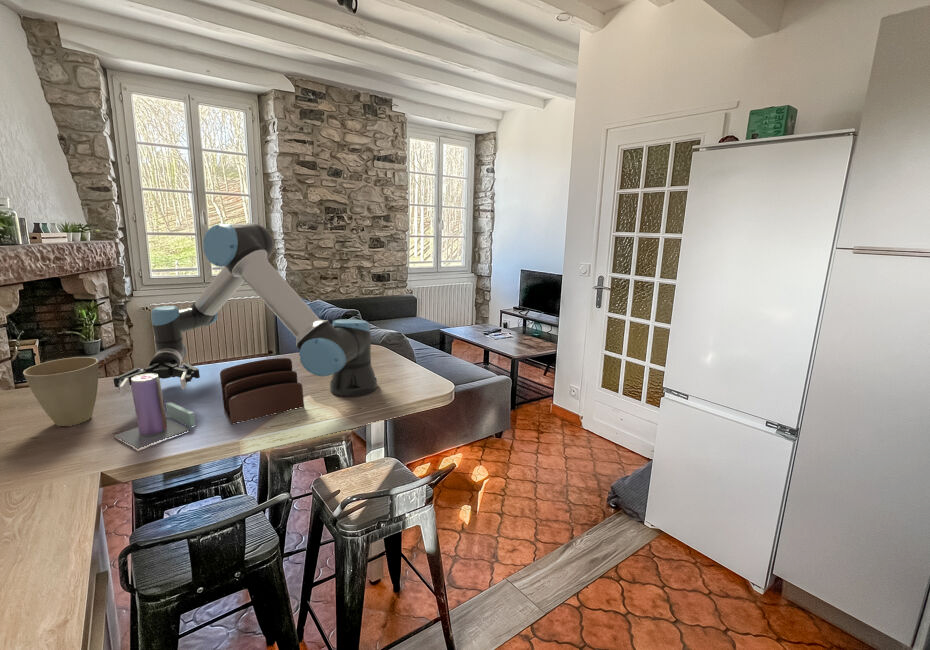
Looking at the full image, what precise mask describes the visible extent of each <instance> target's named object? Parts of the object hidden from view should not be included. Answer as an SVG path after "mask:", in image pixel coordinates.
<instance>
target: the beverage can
mask: <svg viewBox="0 0 930 650" xmlns="http://www.w3.org/2000/svg"><path fill="white" fill-rule="evenodd" d="M160 379H161V378H159V377H158V374H155V373H146V374H141V375H137V376H134V377H133V378H131V385H130V388H131V393H132V398H133V399H132V400H133V405H134V409H135V410H134V411H135V416H136V417H135V418H136V421H137V427H138V429H139V433H140V434H141V435H142V436H155V435H158V434H161V433H163V432H164V431H165V430H166V428H167V423H166V418H167V416H166V410H165V404H164V397H163V392H162V391H163V390H162V384H161V380H160Z"/></svg>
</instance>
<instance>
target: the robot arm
mask: <svg viewBox="0 0 930 650" xmlns="http://www.w3.org/2000/svg"><path fill="white" fill-rule="evenodd" d="M202 244H203V245H202V249H203V252H204V256H205V257H206V259H207V260H208V262H209V263H210V264H211V265H214V266H215V267H219V268H222V269H221V270H220V271H219V272H218V273H217V275H216V276H215V277H214V279H212V281H211V282H210V283H209V285H207V287H206V288H205V289H204V290H203V291H202V293H201V294H200V295H199V296H198V298H197V299H196V300H195V301H194V302H193V303H192V304H191V306H189V307H185V308H180V309H179V308H178V307H177V306H175V305H163V306H157V307H154V308H153V309H152V310H151V311H150V314H151V315H150V318H151V324H152V330H153V334H154V336H153V337H154V345H155V350H156V353H155V354H154V355H153V357H152V359H151V360H150V362H149V365H148V366H147V367H145V368H141V367H140V366H136V367H135V366H134V367H133V369H132V370H131V369H130V370H129V371H127V372H124V373H123V374H119V375H117V376H115V377H113V378H112V379H113V384H114V387H115V388H118V390H119V393H120V397H125V395H126V394H127V393H128V391H129V390H130V388H131V378H133V377H134V376H137V375H141V374H146V373H155V374H158V377H159V378H160V379H165V380H166V379H170V378H175V377H176V378H179V380H180V386H181V387H180V389H182V390H184V389H186V386H187V384H188V383H190V382H192V380H193V379H199V378H200V377H201V376H200V369H199V368H198V367H195V366H193V365H191V364H190V362H189V361H185V362H184V363H182V362H183V360H184V359H185V356H186V353H187V349H186V346H185V345H184V341H183V333H185V332H189V331H192V330H195V329H199V328H202V327H207V326H209V325H211V324H214V323H215V322H216V321H217V320H218V316H219V311H220V310H221V309H222V307H223V306H224V305H225V304H226V303H227V302H228V301H229V300H230V298H231V297H232V296H234V294H235V293H236V291H237V290H239V288H240V287H241V286H242V285H243V284H244V283H245V282H246V284H248V286H249V287H250V288H251V289H252V291H254V293H256V296H258V297H259V298H260V299H261V301H262V302H264V303H265V304H266V306H267V307H268V308H269V309H270V310H271V311H272V313H273V314H274V315H275V316H276V317H277V318H278V320H280V322H281V323H282V324H283V325H284V326H285V327H286V329H287V330H289V332H291V334H292V335H293V337H295V338H296V342H295V346H296V348H298V350H299V352H298V353H299V357H300V359H299V360H300V363H301V365H302V366H303V368H304V369H305V370H306V371H307V372H309V373H310V374H311V375H313V376H317V377H329V376H332V378H331V380H330V383H329V388H330V389H329V390H330V393H332V394H333V395H336V396H341V397H358V396H364V395H368V394H370V393H373V392H374V391H376V389H377V388H378V379H377V376H376V375H375V372H374V371H375V370H374V369H373V366H372V353H371V347H372V346H371V345H372V344H371V325H370V323H369V322H368V321H367V320H364V319H363V320H362V319H353V318H352V319H350V318H349V319H347V318H346V319H345V318H344V319H335V320H333V321H332V323H331V322H330V321H329V320H328V319H326V320H324V319H320V318H319V317H318V315H317V314H316V313H315V312H314V311H313V310H312V309H311V307H309V305H308V304H307V303H306V301H304V299H302V297H301V296H300V295H299V294H298V293H297V292H296V291H295V290H294V288H293V287H292V286H291V285H290V284H289V283H288V282H287V280H286V279H285V278H284V277H283V276H282V275H281V273H279V272H278V270H276V268H275V267H274V266H273V265H272V264H271V263H270V262H269V259H270V258H271V257H272V255H273V253H274V249H275V240H274V237H273V236H272V234H271V232H270V231H269V230H268V229H267V228H265V227H264V226H262V225H261V224H259V223H253V222H248V223H247V222H246V223H227V222H226V223H225V222H224V223H221V224H214V225H212V226H210V227H209V228H208V229H207V230H206V232H205V233H204V236H203V239H202ZM181 364H182V365H181Z"/></svg>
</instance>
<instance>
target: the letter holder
mask: <svg viewBox="0 0 930 650" xmlns="http://www.w3.org/2000/svg"><path fill="white" fill-rule="evenodd" d="M219 378H220V387H221V395H222V404H223V411H224V414H225V416H226V418H227V419H228V421H229V423H230V422H231V423H230V424H231V425H234V424H233V423H236V424H238V423H237V422H240V423H243V422H242V421H244V422H248V421H247V420H249V421H251V419H253V420H256V419H255V418H257V419H260V418H259V417H261V418H264V417H263V416H265V417H267V416H266V415H269V416H272V415H271V414H273V415H275V414H274V413H278V414H280V413H279V412H282V413H285V412H284V411H286V412H288V411H287V410H290V409H294V410H296V409H295V408H299V407H303V408H304V407H305V403H304V402H305V401H304V400H305V399H304V389H303V388H304V387H303V384H302V383H301V382H299V381H298V373H297V372H296V371H294V370H293V361H292V359H291V358H289V357H288V358H287V357H281V358H280V357H279V358H267V359H260V360H255V361H249V362H246V363H245V362H243V363H240V364H237V365H233V366H230V367H226V368H224V369H222V370H221V371H220V373H219ZM299 409H300V408H299ZM290 411H291V410H290Z"/></svg>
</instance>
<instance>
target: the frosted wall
mask: <svg viewBox="0 0 930 650" xmlns="http://www.w3.org/2000/svg"><path fill="white" fill-rule="evenodd" d="M165 405H166V413H167V417H168V418H169V419H171V420H173V421H176V422H179V423H180V422H181V423H180V424H182V423H183V424H182V425H184V424H186V425H188V426H190V427H192V426H194V425H196V420H195V412H194V411H192V410H189V409H187V408H184V407H183V406H180V405H178V404H176V403H174V402H171V401H169V402H166V403H165ZM186 425H185V426H186ZM188 426H187V427H188ZM190 427H189V428H190ZM192 428H193V427H192Z"/></svg>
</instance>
